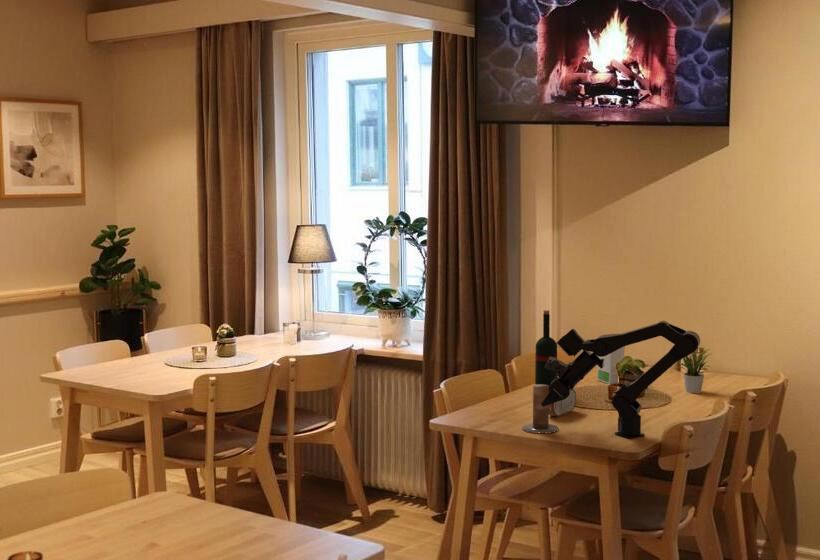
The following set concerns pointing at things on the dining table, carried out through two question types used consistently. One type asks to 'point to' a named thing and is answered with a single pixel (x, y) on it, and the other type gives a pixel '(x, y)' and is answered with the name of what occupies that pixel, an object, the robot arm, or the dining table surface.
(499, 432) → the dining table surface
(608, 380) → the skincare box
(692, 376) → the house plant
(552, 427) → the coaster
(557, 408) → the tin
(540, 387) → the pepper mill
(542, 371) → the wine bottle
